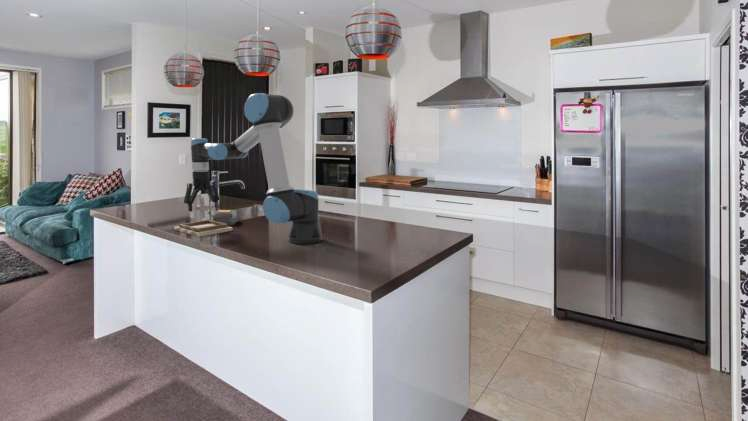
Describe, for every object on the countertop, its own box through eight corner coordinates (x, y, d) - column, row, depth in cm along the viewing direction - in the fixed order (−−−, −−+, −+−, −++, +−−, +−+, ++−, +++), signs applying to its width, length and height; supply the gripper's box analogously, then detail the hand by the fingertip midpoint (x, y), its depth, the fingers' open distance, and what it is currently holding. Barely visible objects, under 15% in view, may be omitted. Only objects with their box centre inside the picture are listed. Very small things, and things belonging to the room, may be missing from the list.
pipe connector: (209, 215, 224) (208, 195, 223) (217, 218, 217) (216, 198, 215) (188, 217, 218) (187, 197, 216) (196, 220, 210) (195, 199, 209)
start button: (229, 217, 233) (229, 211, 233) (217, 217, 233) (217, 211, 232) (232, 215, 239) (231, 210, 239) (220, 215, 239) (220, 209, 238)
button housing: (233, 224, 232) (233, 213, 231) (211, 224, 231) (211, 213, 230) (238, 220, 242) (237, 210, 241) (217, 220, 241) (216, 209, 240)
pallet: (232, 230, 219) (232, 224, 218) (199, 236, 205) (198, 230, 204) (207, 224, 232) (207, 218, 231) (174, 229, 218) (174, 223, 217)
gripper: (182, 172, 202) (184, 220, 206) (226, 170, 220) (227, 214, 224) (173, 171, 207) (176, 218, 211) (217, 169, 224) (219, 212, 228)
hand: (202, 216), depth 217 cm, fingers closed on pipe connector, 10 cm apart
